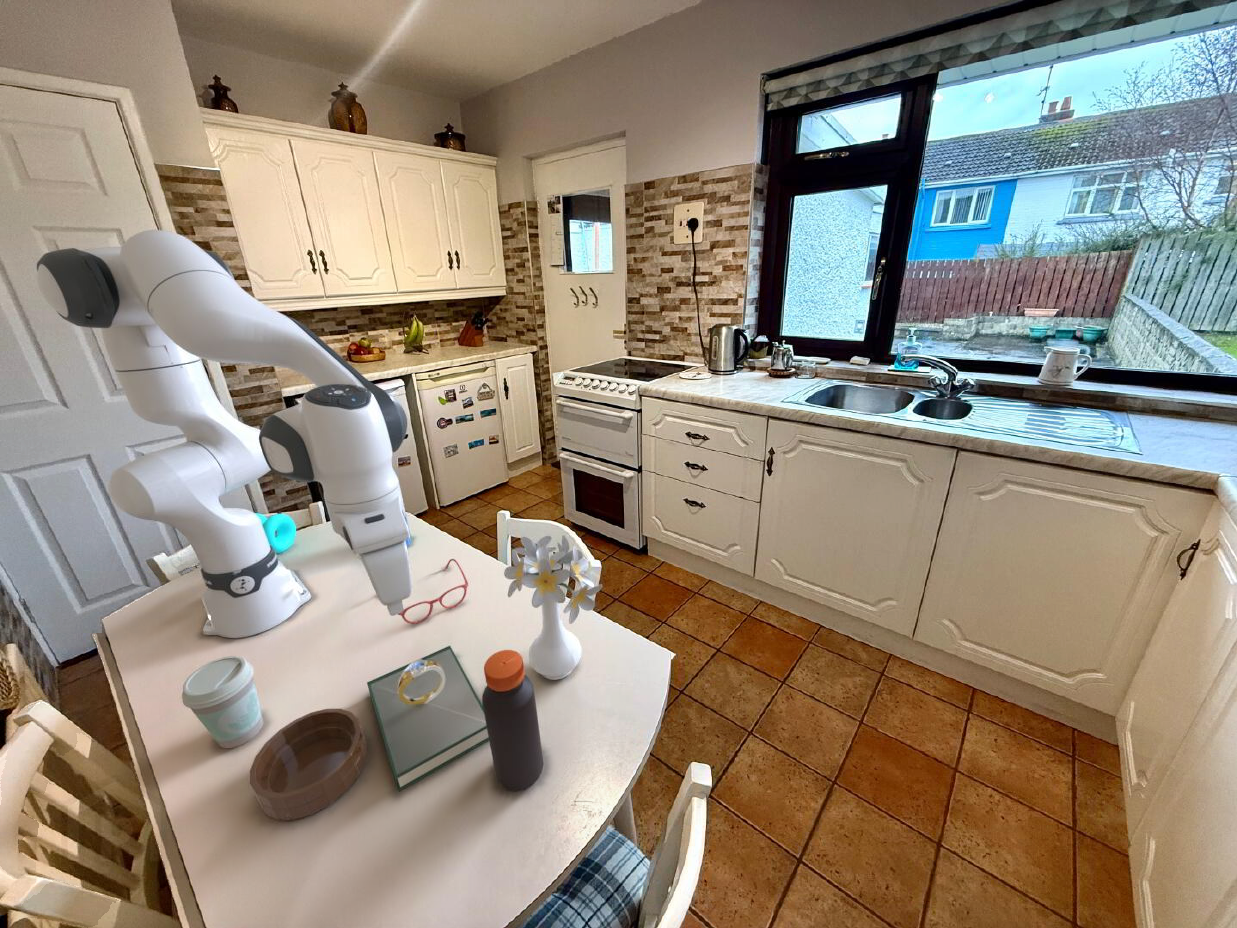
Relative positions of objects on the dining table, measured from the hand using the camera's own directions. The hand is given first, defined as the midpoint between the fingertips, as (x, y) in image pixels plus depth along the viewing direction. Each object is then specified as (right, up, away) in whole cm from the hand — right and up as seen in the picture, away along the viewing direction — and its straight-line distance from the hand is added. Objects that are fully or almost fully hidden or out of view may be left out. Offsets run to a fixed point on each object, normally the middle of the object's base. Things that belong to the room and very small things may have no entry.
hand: (388, 593), depth 69 cm
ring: (+2, -19, +8) cm, 21 cm away
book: (+2, -22, +9) cm, 24 cm away
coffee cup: (-27, -24, +7) cm, 36 cm away
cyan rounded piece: (-57, -4, +56) cm, 80 cm away
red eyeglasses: (-9, -11, +37) cm, 39 cm away
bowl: (-11, -26, 0) cm, 28 cm away
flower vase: (+23, -18, +17) cm, 34 cm away
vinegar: (+19, -25, 0) cm, 32 cm away
